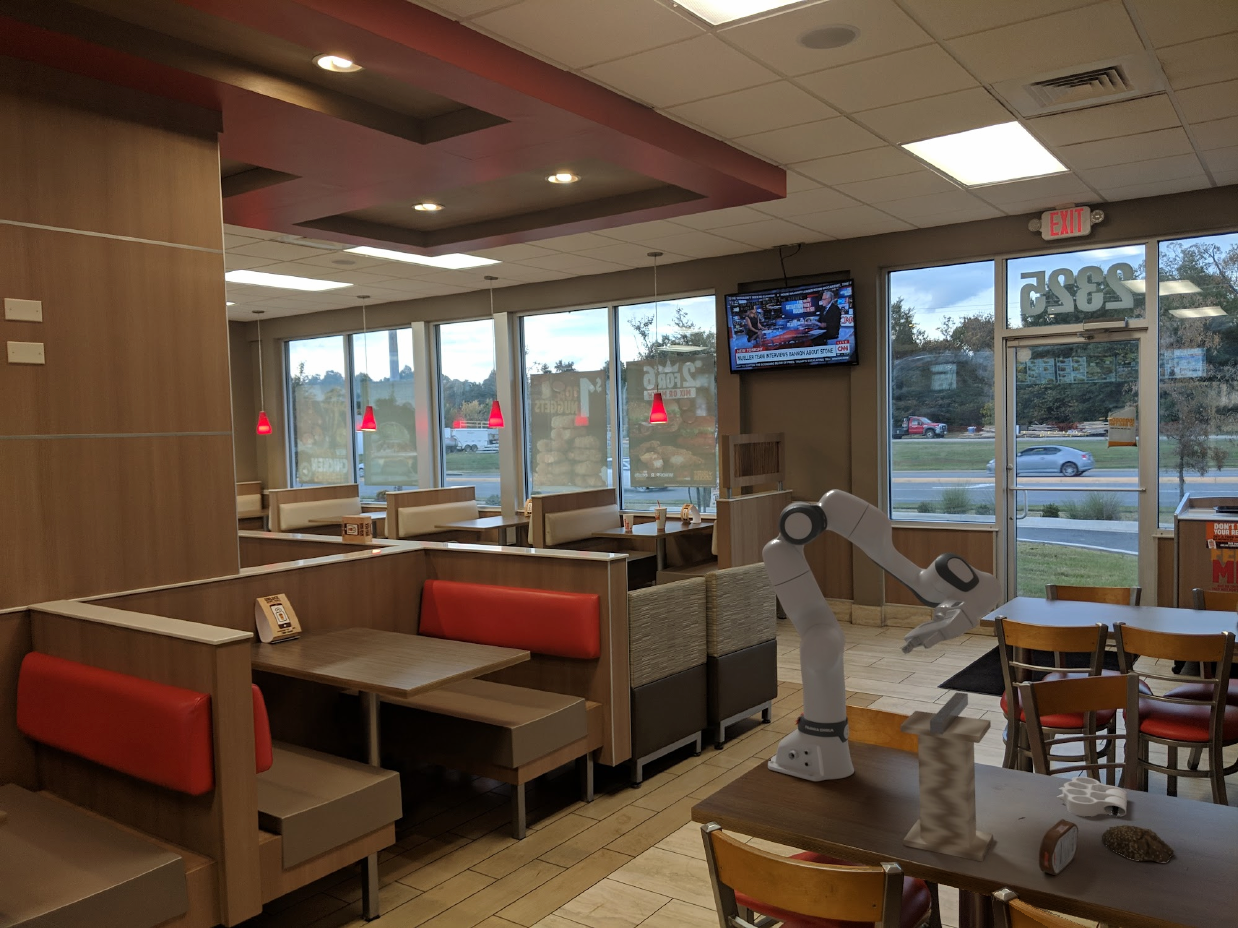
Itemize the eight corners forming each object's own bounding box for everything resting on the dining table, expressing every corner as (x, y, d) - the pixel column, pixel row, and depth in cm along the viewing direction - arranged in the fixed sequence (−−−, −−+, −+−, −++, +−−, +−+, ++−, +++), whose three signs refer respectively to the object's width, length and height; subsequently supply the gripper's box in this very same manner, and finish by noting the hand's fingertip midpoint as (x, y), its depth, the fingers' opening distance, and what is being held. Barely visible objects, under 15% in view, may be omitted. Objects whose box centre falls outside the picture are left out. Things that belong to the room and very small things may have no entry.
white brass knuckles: (1125, 824, 204) (1053, 813, 212) (1127, 796, 220) (1060, 786, 227) (1125, 810, 204) (1053, 798, 212) (1127, 782, 220) (1060, 773, 227)
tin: (1065, 852, 191) (1064, 812, 191) (1081, 856, 189) (1080, 816, 189) (1037, 877, 181) (1036, 835, 181) (1053, 883, 179) (1053, 840, 178)
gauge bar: (942, 734, 190) (942, 722, 190) (930, 732, 191) (929, 720, 191) (968, 704, 210) (967, 693, 210) (956, 702, 211) (956, 692, 211)
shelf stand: (903, 844, 197) (900, 725, 196) (918, 824, 207) (915, 710, 206) (981, 861, 188) (978, 736, 188) (993, 838, 198) (990, 720, 198)
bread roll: (1094, 838, 198) (1094, 815, 198) (1152, 837, 198) (1152, 814, 197) (1125, 865, 185) (1124, 841, 185) (1187, 864, 185) (1187, 840, 185)
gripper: (921, 614, 238) (885, 643, 233) (968, 600, 219) (929, 631, 214) (936, 635, 237) (899, 664, 232) (984, 622, 218) (945, 654, 213)
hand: (914, 648), depth 223 cm, fingers open, 8 cm apart
